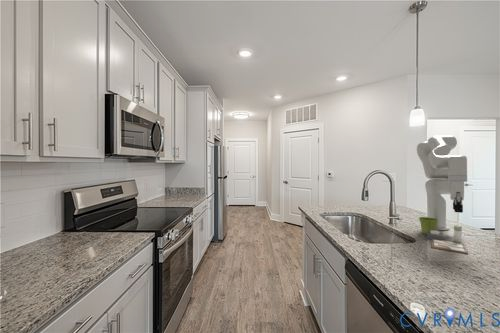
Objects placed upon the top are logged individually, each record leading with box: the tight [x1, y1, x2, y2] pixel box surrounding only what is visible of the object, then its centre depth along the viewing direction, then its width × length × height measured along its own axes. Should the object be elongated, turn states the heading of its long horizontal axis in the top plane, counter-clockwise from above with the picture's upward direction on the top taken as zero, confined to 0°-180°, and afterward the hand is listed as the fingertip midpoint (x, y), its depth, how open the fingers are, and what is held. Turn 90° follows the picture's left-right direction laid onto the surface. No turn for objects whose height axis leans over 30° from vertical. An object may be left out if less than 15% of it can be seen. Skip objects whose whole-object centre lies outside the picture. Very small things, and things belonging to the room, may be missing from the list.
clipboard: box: [431, 239, 469, 255], centre depth 114 cm, size 16×13×1 cm
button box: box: [426, 231, 444, 240], centre depth 126 cm, size 7×7×3 cm
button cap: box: [430, 230, 441, 235], centre depth 126 cm, size 4×4×2 cm
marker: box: [453, 224, 463, 243], centre depth 121 cm, size 3×3×8 cm
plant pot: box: [418, 216, 438, 235], centre depth 136 cm, size 9×9×9 cm
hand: (457, 210), depth 120 cm, fingers open, 9 cm apart
